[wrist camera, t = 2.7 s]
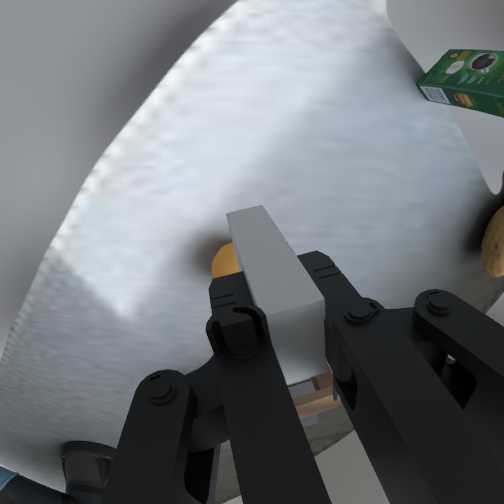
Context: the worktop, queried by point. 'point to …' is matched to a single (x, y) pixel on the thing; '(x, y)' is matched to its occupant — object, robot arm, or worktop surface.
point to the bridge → (317, 396)
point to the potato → (494, 245)
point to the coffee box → (467, 80)
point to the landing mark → (301, 390)
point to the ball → (224, 262)
